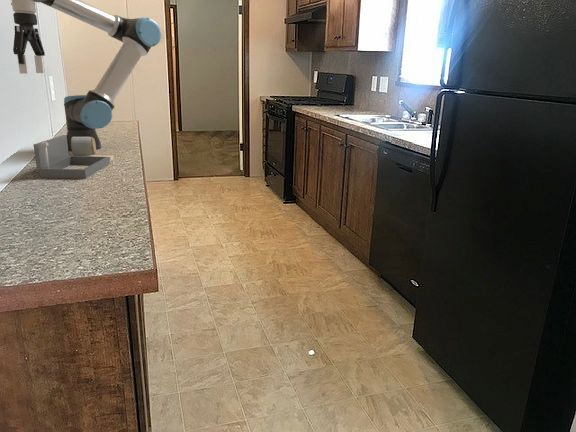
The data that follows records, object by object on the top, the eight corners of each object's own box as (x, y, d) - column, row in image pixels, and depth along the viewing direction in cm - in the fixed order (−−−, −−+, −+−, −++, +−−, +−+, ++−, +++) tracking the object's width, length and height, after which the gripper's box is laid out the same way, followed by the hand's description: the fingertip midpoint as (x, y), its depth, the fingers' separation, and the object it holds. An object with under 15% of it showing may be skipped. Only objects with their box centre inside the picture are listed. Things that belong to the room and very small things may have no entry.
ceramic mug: (95, 155, 184) (91, 136, 182) (72, 157, 182) (69, 137, 180) (98, 152, 194) (95, 133, 192) (77, 154, 192) (74, 135, 190)
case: (67, 163, 179) (64, 133, 176) (110, 164, 180) (107, 134, 176) (37, 177, 156) (32, 143, 153) (85, 178, 157) (82, 144, 153)
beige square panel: (81, 156, 193) (81, 153, 193) (116, 157, 194) (115, 154, 194) (67, 163, 180) (67, 160, 180) (104, 163, 181) (104, 160, 180)
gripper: (29, 16, 184) (36, 72, 191) (-4, 8, 161) (5, 73, 167) (49, 16, 185) (55, 73, 191) (18, 9, 161) (27, 74, 168)
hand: (32, 73), depth 179 cm, fingers open, 13 cm apart
